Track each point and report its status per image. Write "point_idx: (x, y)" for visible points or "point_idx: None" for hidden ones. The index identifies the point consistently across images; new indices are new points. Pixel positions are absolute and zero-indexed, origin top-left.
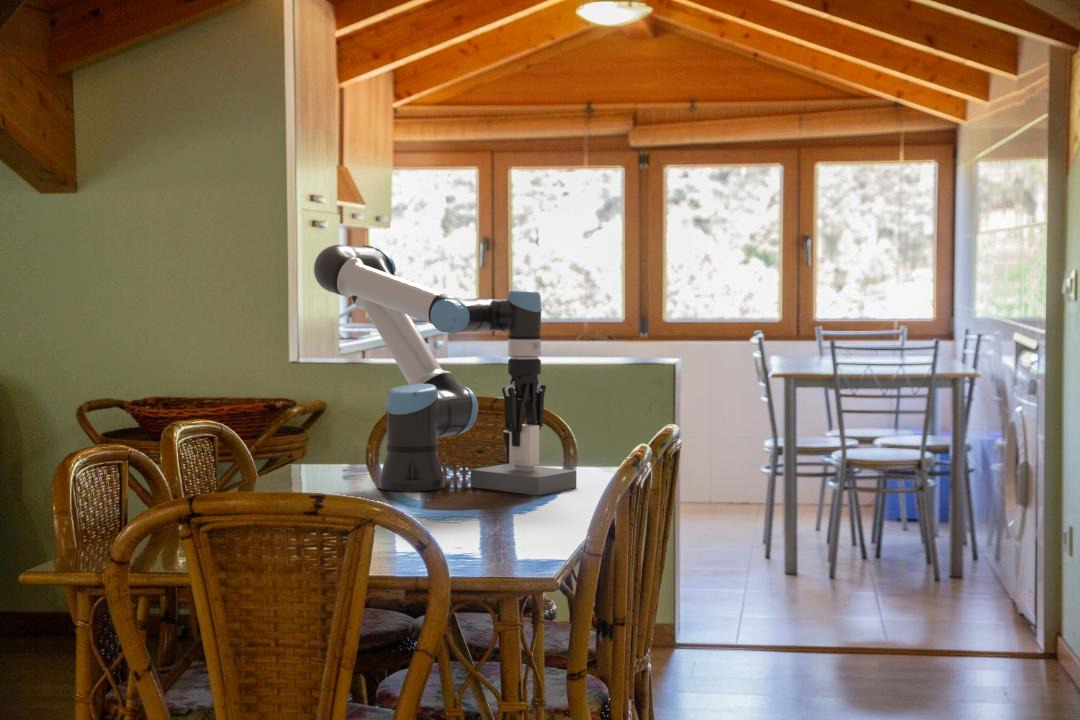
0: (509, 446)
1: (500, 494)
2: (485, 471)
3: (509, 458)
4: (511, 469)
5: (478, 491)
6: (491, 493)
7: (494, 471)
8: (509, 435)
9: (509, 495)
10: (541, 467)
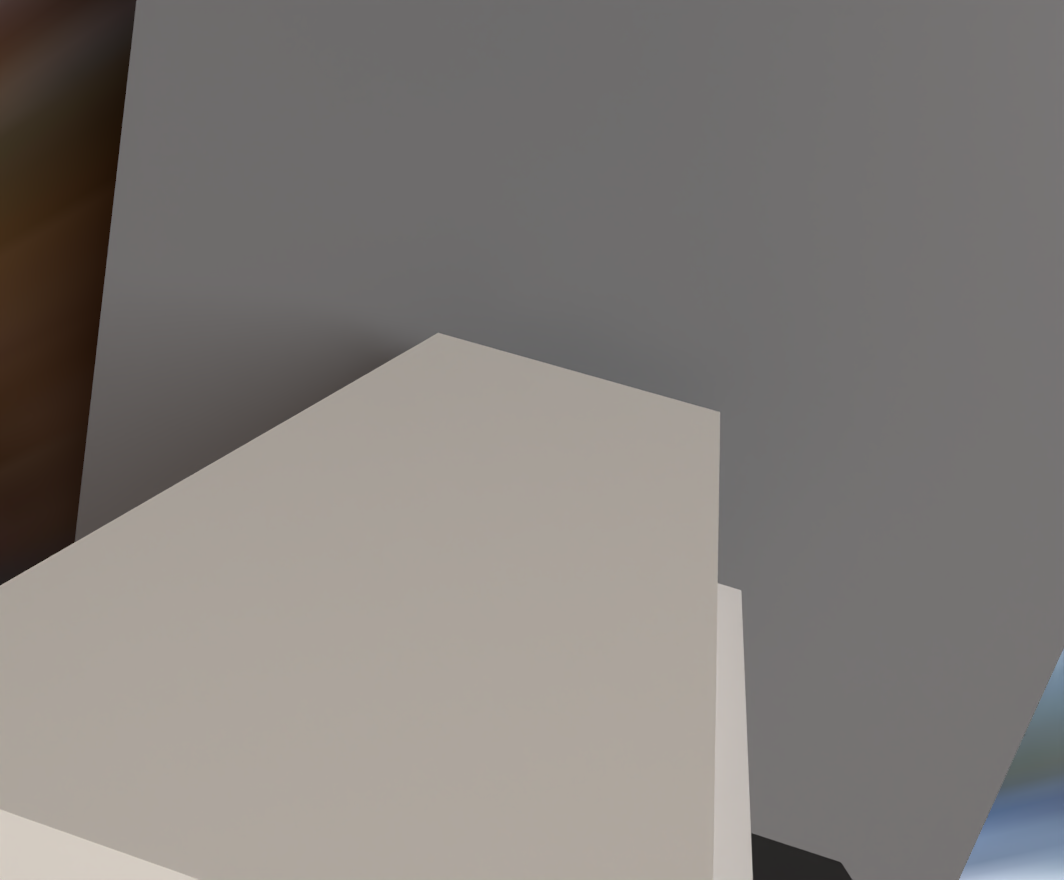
0: (304, 415)
1: (14, 414)
2: (136, 14)
3: (409, 355)
4: (539, 326)
5: (56, 69)
6: (17, 290)
7: (201, 164)
8: (137, 513)
9: (11, 528)
10: (986, 696)
